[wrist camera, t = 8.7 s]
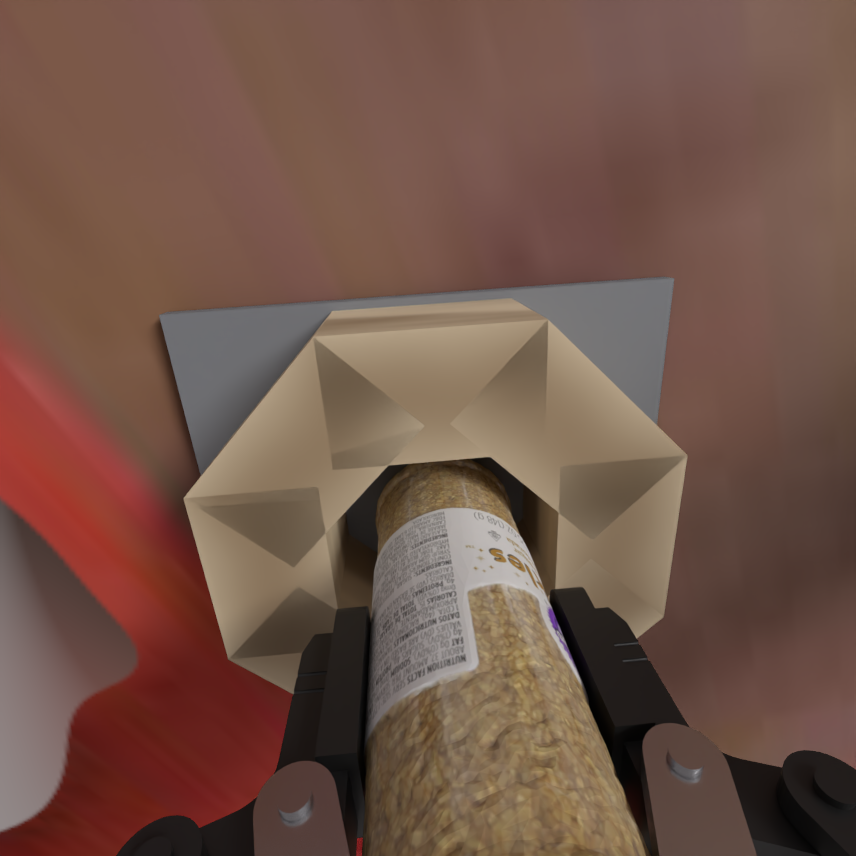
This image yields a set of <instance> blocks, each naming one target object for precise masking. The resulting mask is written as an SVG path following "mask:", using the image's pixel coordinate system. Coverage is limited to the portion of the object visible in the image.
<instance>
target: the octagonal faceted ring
mask: <svg viewBox="0 0 856 856" xmlns="http://www.w3.org/2000/svg"><path fill="white" fill-rule="evenodd" d="M687 456H688V455H687V454H686V453H685V452H684V451H683V450H682V449H680V448H679V447H678V446H677V445H676V444H675V443H674V442H673V441H672V440H671V439H670V438H669V437H668V436H667V435H666V434H665V433H664V432H663V431H662V430H661V429H660V428H659V427H658V426H657V425H656V424H655V423H654V422H653V421H652V420H651V419H650V418H649V417H648V416H647V415H646V414H645V413H644V412H643V411H642V410H641V409H639V408H638V407H637V406H636V405H635V404H634V403H633V402H632V401H631V400H630V399H629V398H628V397H627V396H626V395H625V394H624V393H623V392H622V391H621V390H620V389H619V388H618V387H617V386H616V385H615V384H614V383H613V382H612V381H611V380H610V379H609V378H608V377H607V376H606V375H605V374H604V373H603V372H602V371H601V370H600V369H599V368H597V367H596V366H595V365H594V364H593V363H592V362H591V361H590V360H589V359H588V358H587V357H586V356H585V355H584V354H583V353H582V352H581V351H580V350H579V349H578V348H577V347H576V346H575V345H574V344H573V343H572V342H571V341H570V340H569V339H568V338H567V337H566V336H565V335H564V334H563V333H562V332H561V331H560V330H559V329H558V328H557V327H555V326H554V325H553V324H552V323H551V322H550V321H549V320H548V319H547V318H545V317H543V316H541V315H540V314H538V313H536V312H535V311H533V310H531V309H529V308H528V307H526V306H524V305H522V304H521V303H519V302H517V301H515V300H514V299H512V298H507V299H493V300H480V301H466V302H452V303H438V304H424V305H410V306H396V307H382V308H368V309H354V310H340V311H332V312H331V313H330V315H329V316H328V317H327V318H326V320H325V321H324V322H323V323H322V325H321V326H320V327H319V328H318V330H317V331H316V332H315V333H314V334H313V336H312V337H311V338H310V339H309V341H308V342H307V343H306V344H305V346H304V347H303V348H302V349H301V351H300V352H299V353H298V354H297V356H296V357H295V358H294V359H293V361H292V362H291V363H290V364H289V366H288V367H287V368H286V369H285V371H284V372H283V373H282V374H281V376H280V377H279V378H278V379H277V381H276V382H275V383H274V384H273V386H272V387H271V388H270V389H269V391H268V392H267V393H266V394H265V396H264V397H263V398H262V399H261V401H260V402H259V403H258V404H257V406H256V407H255V408H254V409H253V411H252V412H251V413H250V414H249V416H248V417H247V418H246V419H245V421H244V422H243V423H242V424H241V425H240V427H239V428H238V429H237V430H236V432H235V433H234V434H233V435H232V437H231V438H230V439H229V440H228V442H227V443H226V444H225V446H224V447H223V448H222V449H221V451H220V452H219V453H218V455H217V456H216V457H215V458H214V460H213V461H212V462H211V464H210V465H209V466H208V467H207V469H206V470H205V471H204V473H203V474H202V475H201V476H200V478H199V479H198V480H197V482H196V483H195V484H194V485H193V487H192V488H191V489H190V491H189V492H188V493H187V494H186V496H185V497H184V498H183V499H184V502H185V506H186V510H187V513H188V517H189V520H190V524H191V527H192V531H193V535H194V538H195V542H196V545H197V549H198V552H199V556H200V560H201V563H202V567H203V570H204V574H205V578H206V581H207V585H208V588H209V592H210V595H211V599H212V603H213V606H214V610H215V613H216V617H217V620H218V624H219V628H220V631H221V635H222V638H223V642H224V646H225V649H226V653H227V656H228V660H230V661H232V662H234V663H236V664H238V665H239V666H241V667H243V668H245V669H247V670H249V671H251V672H253V673H254V674H256V675H258V676H260V677H262V678H264V679H266V680H267V681H269V682H271V683H273V684H275V685H277V686H279V687H281V688H282V689H284V690H286V691H288V692H290V693H292V694H294V688H295V683H296V678H297V677H298V669H299V664H300V660H301V655H302V652H303V651H304V649H305V648H306V646H307V645H308V644H309V642H310V641H311V639H312V638H313V636H314V635H315V634H324V633H333V629H334V622H335V615H336V611H337V609H341V608H352V607H362V606H368V607H369V612H370V620H371V612H372V597H373V581H374V570H375V565H376V562H377V555H378V553H376V552H375V551H373V550H372V549H370V548H369V547H367V546H366V545H365V544H363V543H362V542H360V541H359V540H357V539H356V538H354V537H353V536H351V535H350V534H349V530H348V523H347V516H346V511H347V510H348V509H349V508H350V507H351V505H352V504H353V503H354V502H355V501H356V500H357V499H358V498H359V497H360V496H361V495H362V494H363V492H364V491H365V490H366V489H367V488H368V487H369V486H370V485H371V484H372V483H373V482H374V481H375V479H376V478H377V477H378V476H379V475H380V474H381V473H382V472H383V471H384V470H385V469H386V468H387V467H388V465H400V464H412V463H424V462H436V461H448V460H459V459H471V458H483V457H491V458H492V459H494V460H495V461H496V462H497V463H498V464H500V465H501V466H502V467H503V468H505V469H506V470H507V471H508V472H509V473H511V474H512V475H513V476H514V477H516V478H517V479H518V480H519V481H520V482H522V483H523V519H522V520H521V521H520V522H519V523H518V524H517V525H516V526H517V529H518V532H519V534H520V536H521V538H522V539H523V541H524V543H525V544H526V546H527V548H528V550H529V552H530V555H531V557H532V560H533V562H534V564H535V567H536V569H537V572H538V574H539V577H540V579H541V582H542V585H543V587H544V590H545V592H546V595H547V597H548V599H549V597H550V591H551V590H552V589H561V588H572V587H583V588H584V589H585V591H586V592H587V594H588V596H589V598H590V600H591V602H592V604H593V605H594V607H595V608H605V607H609V608H610V609H611V610H613V611H614V612H615V613H616V614H617V615H619V616H620V617H621V618H622V619H623V620H625V621H626V622H627V623H628V625H629V627H630V629H631V630H632V632H633V634H634V635H635V637H636V639H637V638H638V637H639V636H641V635H642V634H643V633H644V632H645V631H647V630H648V629H649V628H650V627H652V626H653V625H654V624H655V623H657V622H658V621H659V620H660V619H662V618H663V617H664V612H665V605H666V598H667V591H668V584H669V578H670V571H671V564H672V557H673V550H674V544H675V537H676V530H677V523H678V516H679V510H680V503H681V496H682V489H683V483H684V476H685V469H686V462H687Z"/></svg>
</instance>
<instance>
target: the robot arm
mask: <svg viewBox="0 0 856 856" xmlns="http://www.w3.org/2000/svg"><path fill="white" fill-rule="evenodd" d="M549 602H550V604H551V607H552V609H553V612H554V614H555V617H556V620H557V622H558V625H559V627H560V629H561V631H562V634H563V636H564V639H565V641H566V644H567V646H568V648H569V651H570V653H571V655H572V658H573V660H574V662H575V665H576V667H577V670H578V672H579V675H580V677H581V679H582V682H583V684H584V687H585V689H586V692H587V695H588V700H589V707H590V710H591V712H592V714H593V717H594V719H595V721H596V723H597V726H598V729H599V732H600V734H601V736H602V738H603V740H604V742H605V744H606V747H607V749H608V752H609V755H610V757H611V759H612V762H613V764H614V767H615V770H616V773H617V777H618V779H619V781H620V783H621V785H622V787H623V789H624V792H625V795H626V798H627V800H628V803H629V806H630V808H631V811H632V813H633V816H634V818H635V821H636V823H637V825H638V828H639V830H640V832H641V834H642V836H643V838H644V841H645V844H646V847H647V849H648V851H649V852H650V854H651V856H856V770H855V769H854V768H852V767H851V766H849V765H848V764H846V763H844V762H843V761H841V760H839V759H837V758H835V757H832V756H830V755H827V754H824V753H821V752H816V751H806V750H803V751H797V752H794V753H792V754H790V755H789V756H788V757H787V758H786V759H785V761H784V764H783V767H782V768H780V767H776V766H771V765H766V764H762V763H757V762H752V761H747V760H743V759H739V758H735V757H732V756H729V755H727V754H724V753H722V752H721V751H720V750H719V749H718V747H717V746H716V745H715V744H714V743H713V742H712V741H711V740H709V739H708V738H707V737H706V736H704V735H703V734H701V733H700V732H698V731H696V730H694V729H692V728H690V727H689V726H688V724H687V723H686V721H685V720H684V718H683V716H682V715H681V713H680V711H679V710H678V708H677V706H676V705H675V703H674V701H673V700H672V698H671V696H670V694H669V693H668V691H667V689H666V688H665V686H664V684H663V683H662V681H661V679H660V678H659V676H658V674H657V672H656V671H655V669H654V667H653V666H652V664H651V662H650V661H648V659H647V656H646V654H645V652H644V651H643V649H642V647H641V645H639V644H638V640H637V639H636V637H635V635H634V634H633V632H632V630H631V629H630V627H629V625H628V623H627V622H626V621H625V620H623V619H622V618H621V617H620V616H619V615H617V614H616V613H615V612H614V611H613V610H611V609H610V608H609V607H605V608H595V607H594V605H593V604H592V602H591V600H590V598H589V596H588V594H587V592H586V591H585V589H584V588H583V587H572V588H561V589H552V590H551V591H550V597H549ZM370 631H371V620H370V612H369V607H368V606H362V607H352V608H341V609H337V611H336V615H335V622H334V629H333V633H324V634H315V635H314V636H313V638H312V639H311V641H310V642H309V644H308V645H307V646H306V648H305V649H304V651H303V652H302V655H301V660H300V664H299V669H298V677H297V678H296V683H295V688H294V695H293V697H292V701H291V706H290V711H289V715H288V720H287V725H286V729H285V734H284V739H283V743H282V748H281V752H280V757H279V762H278V765H277V768H276V771H275V773H274V775H272V776H271V777H270V778H269V780H268V781H267V782H266V783H265V784H264V786H263V787H262V789H261V791H260V792H259V794H258V796H257V797H256V798H255V799H254V800H253V801H252V802H251V803H249V804H248V805H246V806H245V807H243V808H242V809H240V810H238V811H236V812H234V813H232V814H230V815H228V816H225V817H223V818H221V819H219V820H216V821H214V822H212V823H210V824H208V825H205V826H203V827H201V828H199V827H198V826H197V825H196V823H195V822H194V821H193V820H191V819H190V818H187V817H185V816H178V815H176V816H168V817H164V818H161V819H158V820H156V821H154V822H152V823H150V824H148V825H147V826H145V827H144V828H142V829H141V830H140V831H138V832H137V833H136V834H135V835H134V836H133V837H131V838H130V840H129V841H128V842H127V843H126V844H125V845H124V846H123V847H122V849H121V850H120V851H119V853H118V854H117V855H116V856H356V846H357V838H361V837H363V828H364V815H365V794H366V785H365V777H366V771H365V766H364V738H365V720H366V704H367V684H368V666H369V648H370Z"/></svg>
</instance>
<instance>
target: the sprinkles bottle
mask: <svg viewBox="0 0 856 856" xmlns="http://www.w3.org/2000/svg"><path fill="white" fill-rule="evenodd" d="M376 528H377V534H378V555H377V562H376V565H375V570H374V581H373V597H372V612H371V631H370V648H369V666H368V684H367V704H366V720H365V738H364V766H365V771H366V777H365V785H366V794H365V815H364V828H363V847H362V856H651V854H650V852H649V851H648V849H647V847H646V844H645V841H644V838H643V836H642V834H641V832H640V830H639V828H638V825H637V823H636V821H635V818H634V816H633V813H632V811H631V808H630V806H629V803H628V800H627V798H626V795H625V792H624V789H623V787H622V785H621V783H620V781H619V779H618V777H617V773H616V770H615V767H614V764H613V762H612V759H611V757H610V755H609V752H608V749H607V747H606V744H605V742H604V740H603V738H602V736H601V734H600V732H599V729H598V726H597V723H596V721H595V719H594V717H593V714H592V712H591V710H590V707H589V700H588V695H587V692H586V689H585V687H584V684H583V682H582V679H581V677H580V675H579V672H578V670H577V667H576V665H575V662H574V660H573V658H572V655H571V653H570V651H569V648H568V646H567V644H566V641H565V639H564V636H563V634H562V631H561V629H560V627H559V625H558V622H557V620H556V617H555V614H554V612H553V609H552V607H551V604H550V602H549V599H548V597H547V595H546V592H545V590H544V587H543V585H542V582H541V579H540V577H539V574H538V572H537V569H536V567H535V564H534V562H533V560H532V557H531V555H530V552H529V550H528V548H527V546H526V544H525V543H524V541H523V539H522V538H521V536H520V534H519V532H518V529H517V526H516V523H515V522H514V520H513V517H512V511H511V504H510V500H509V497H508V495H507V493H506V491H505V487H504V486H503V484H502V483H501V482H500V481H499V479H498V478H497V477H496V476H495V475H494V474H493V473H492V472H491V471H490V470H489V469H487V468H485V467H483V466H482V465H480V464H478V463H476V462H474V461H472V460H470V459H459V460H448V461H436V462H424V463H412V464H409V465H407V466H406V467H405V468H403V469H402V470H401V471H400V472H398V473H397V474H396V475H395V476H393V478H392V479H391V480H390V481H389V482H388V483H387V484H386V485H385V487H384V489H383V491H382V493H381V495H380V497H379V499H378V502H377V510H376Z"/></svg>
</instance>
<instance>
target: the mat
mask: <svg viewBox="0 0 856 856" xmlns="http://www.w3.org/2000/svg"><path fill="white" fill-rule="evenodd" d="M673 284H674V278H669V277H654V278H640V279H626V280H612V281H598V282H584V283H570V284H556V285H542V286H527V287H513V288H499V289H485V290H471V291H457V292H443V293H429V294H415V295H401V296H387V297H373V298H358V299H344V300H330V301H316V302H302V303H288V304H274V305H260V306H246V307H232V308H218V309H204V310H190V311H175V312H166V313H163V314H161V315H159V317H160V321H161V325H162V328H163V332H164V336H165V340H166V344H167V348H168V352H169V355H170V359H171V363H172V367H173V371H174V375H175V379H176V382H177V386H178V390H179V394H180V398H181V402H182V406H183V409H184V413H185V417H186V421H187V425H188V429H189V432H190V436H191V440H192V444H193V448H194V452H195V456H196V459H197V463H198V467H199V471H200V475H202V474H203V473H204V471H205V470H206V469H207V467H208V466H209V465H210V464H211V462H212V461H213V460H214V458H215V457H216V456H217V455H218V453H219V452H220V451H221V449H222V448H223V447H224V446H225V444H226V443H227V442H228V440H229V439H230V438H231V437H232V435H233V434H234V433H235V432H236V430H237V429H238V428H239V427H240V425H241V424H242V423H243V422H244V421H245V419H246V418H247V417H248V416H249V414H250V413H251V412H252V411H253V409H254V408H255V407H256V406H257V404H258V403H259V402H260V401H261V399H262V398H263V397H264V396H265V394H266V393H267V392H268V391H269V389H270V388H271V387H272V386H273V384H274V383H275V382H276V381H277V379H278V378H279V377H280V376H281V374H282V373H283V372H284V371H285V369H286V368H287V367H288V366H289V364H290V363H291V362H292V361H293V359H294V358H295V357H296V356H297V354H298V353H299V352H300V351H301V349H302V348H303V347H304V346H305V344H306V343H307V342H308V341H309V339H310V338H311V337H312V336H313V334H314V333H315V332H316V331H317V330H318V328H319V327H320V326H321V325H322V323H323V322H324V321H325V320H326V318H327V317H328V316H329V315H330V313H331V312H332V311H340V310H354V309H368V308H382V307H396V306H410V305H424V304H438V303H452V302H466V301H480V300H493V299H507V298H512V299H514V300H515V301H517V302H519V303H521V304H522V305H524V306H526V307H528V308H529V309H531V310H533V311H535V312H536V313H538V314H540V315H541V316H543V317H545V318H547V319H548V320H549V321H550V322H551V323H552V324H553V325H554V326H555V327H557V328H558V329H559V330H560V331H561V332H562V333H563V334H564V335H565V336H566V337H567V338H568V339H569V340H570V341H571V342H572V343H573V344H574V345H575V346H576V347H577V348H578V349H579V350H580V351H581V352H582V353H583V354H584V355H585V356H586V357H587V358H588V359H589V360H590V361H591V362H592V363H593V364H594V365H595V366H596V367H597V368H599V369H600V370H601V371H602V372H603V373H604V374H605V375H606V376H607V377H608V378H609V379H610V380H611V381H612V382H613V383H614V384H615V385H616V386H617V387H618V388H619V389H620V390H621V391H622V392H623V393H624V394H625V395H626V396H627V397H628V398H629V399H630V400H631V401H632V402H633V403H634V404H635V405H636V406H637V407H638V408H639V409H641V410H642V411H643V412H644V413H645V414H646V415H647V416H648V417H649V418H650V419H651V420H652V421H653V422H654V423H655V424H656V425H657V419H658V411H659V402H660V394H661V385H662V377H663V369H664V360H665V352H666V343H667V335H668V327H669V318H670V310H671V301H672V293H673ZM470 460H472V461H474V462H476V463H478V464H480V465H482V466H483V467H485V468H487V469H489V470H490V471H491V472H492V473H493V474H494V475H495V476H496V477H497V478H498V479H499V481H500V482H501V483H502V484H503V486H504V487H505V491H506V493H507V495H508V497H509V500H510V504H511V511H512V517H513V520H514V522H515V523H516V525H517V524H518V523H519V522H520V521H521V520H522V519H523V483H522V482H520V481H519V480H518V479H517V478H516V477H514V476H513V475H512V474H511V473H509V472H508V471H507V470H506V469H505V468H503V467H502V466H501V465H500V464H498V463H497V462H496V461H495V460H494V459H492V458H491V457H483V458H471V459H470ZM407 465H409V464H400V465H388V467H387V468H386V469H385V470H384V471H383V472H382V473H381V474H380V475H379V476H378V477H377V478H376V479H375V481H374V482H373V483H372V484H371V485H370V486H369V487H368V488H367V489H366V490H365V491H364V492H363V494H362V495H361V496H360V497H359V498H358V499H357V500H356V501H355V502H354V503H353V504H352V505H351V507H350V508H349V509H348V510H347V511H346V516H347V523H348V530H349V534H350V535H351V536H353V537H354V538H356V539H357V540H359V541H360V542H362V543H363V544H365V545H366V546H367V547H369V548H370V549H372V550H373V551H375V552H376V553H378V534H377V528H376V510H377V502H378V499H379V497H380V495H381V493H382V491H383V489H384V487H385V485H386V484H387V483H388V482H389V481H390V480H391V479H392V478H393V476H395V475H396V474H397V473H398V472H400V471H401V470H402V469H403V468H405V467H406V466H407Z"/></svg>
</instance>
